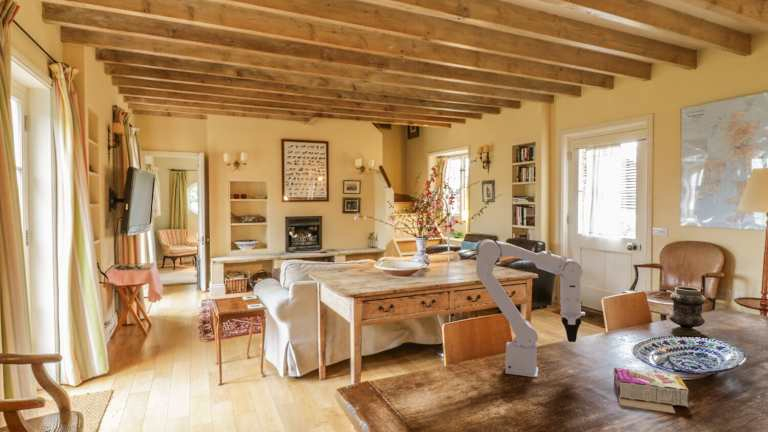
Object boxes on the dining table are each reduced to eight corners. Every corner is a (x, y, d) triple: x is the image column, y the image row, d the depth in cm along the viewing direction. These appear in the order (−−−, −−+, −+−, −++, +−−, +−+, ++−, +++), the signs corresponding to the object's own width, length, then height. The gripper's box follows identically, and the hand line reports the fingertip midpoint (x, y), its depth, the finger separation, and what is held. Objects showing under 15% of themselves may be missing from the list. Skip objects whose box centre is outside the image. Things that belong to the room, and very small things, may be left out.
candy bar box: (613, 366, 131) (678, 373, 126) (613, 382, 132) (677, 391, 126) (619, 380, 121) (690, 389, 115) (618, 398, 121) (689, 408, 115)
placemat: (620, 405, 118) (620, 404, 118) (614, 385, 130) (614, 384, 130) (675, 413, 114) (675, 412, 114) (664, 392, 126) (664, 391, 126)
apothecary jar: (712, 336, 174) (713, 291, 173) (681, 337, 174) (682, 291, 173) (691, 327, 186) (692, 285, 185) (662, 327, 186) (663, 285, 185)
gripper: (585, 304, 130) (587, 350, 130) (583, 293, 143) (584, 335, 144) (559, 303, 132) (561, 348, 133) (560, 292, 146) (561, 333, 146)
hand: (571, 341), depth 138 cm, fingers closed
